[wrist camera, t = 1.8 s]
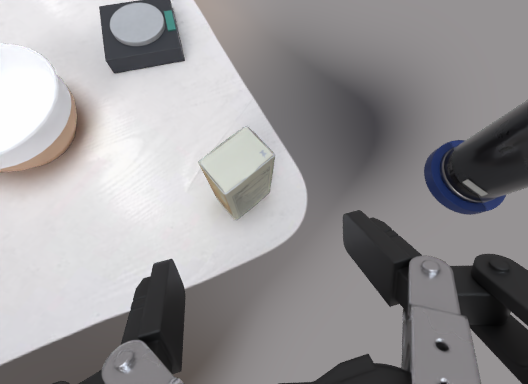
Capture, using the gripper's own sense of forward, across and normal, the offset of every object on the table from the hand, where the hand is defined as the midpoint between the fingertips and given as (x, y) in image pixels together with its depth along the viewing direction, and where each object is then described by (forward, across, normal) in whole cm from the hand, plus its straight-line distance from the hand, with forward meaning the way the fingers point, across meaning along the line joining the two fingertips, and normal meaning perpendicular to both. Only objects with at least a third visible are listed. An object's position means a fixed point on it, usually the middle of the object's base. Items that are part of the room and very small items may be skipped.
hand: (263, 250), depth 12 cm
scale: (+44, +8, -12) cm, 46 cm away
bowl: (+34, +25, -2) cm, 43 cm away
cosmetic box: (+23, -1, +9) cm, 25 cm away
